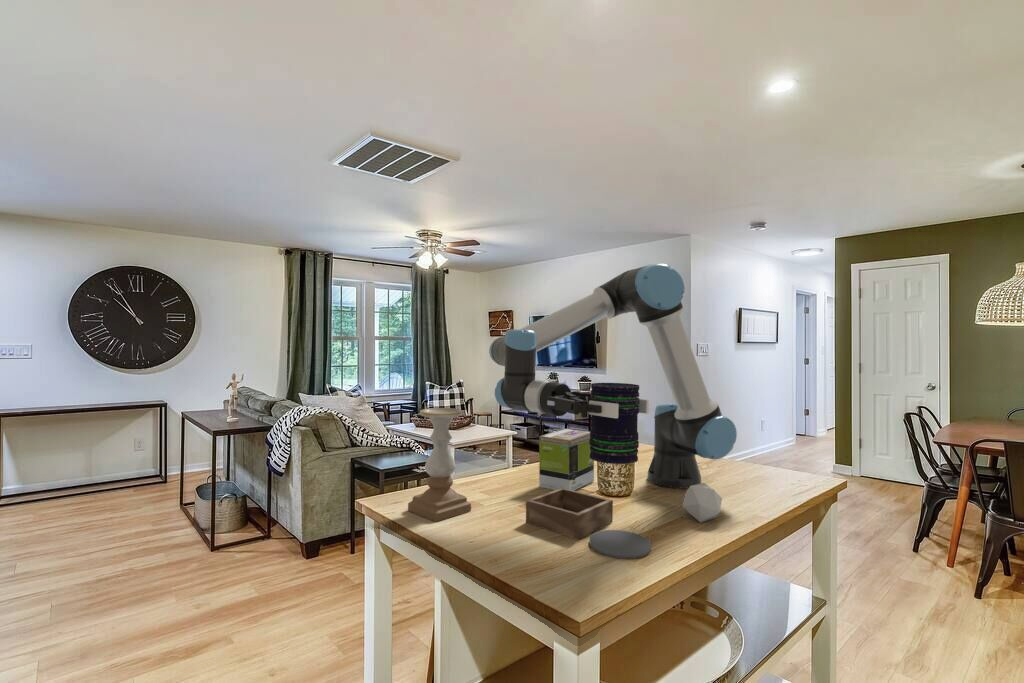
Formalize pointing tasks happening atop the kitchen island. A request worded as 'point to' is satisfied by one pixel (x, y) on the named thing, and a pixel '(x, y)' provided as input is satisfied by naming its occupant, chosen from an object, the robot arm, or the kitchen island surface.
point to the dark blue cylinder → (615, 424)
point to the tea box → (565, 460)
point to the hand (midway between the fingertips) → (632, 408)
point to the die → (702, 502)
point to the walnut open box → (569, 512)
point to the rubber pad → (620, 544)
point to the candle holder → (440, 472)
